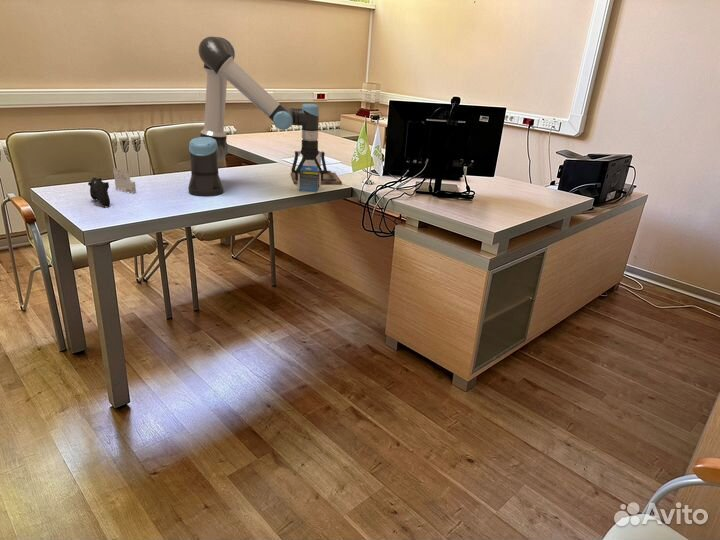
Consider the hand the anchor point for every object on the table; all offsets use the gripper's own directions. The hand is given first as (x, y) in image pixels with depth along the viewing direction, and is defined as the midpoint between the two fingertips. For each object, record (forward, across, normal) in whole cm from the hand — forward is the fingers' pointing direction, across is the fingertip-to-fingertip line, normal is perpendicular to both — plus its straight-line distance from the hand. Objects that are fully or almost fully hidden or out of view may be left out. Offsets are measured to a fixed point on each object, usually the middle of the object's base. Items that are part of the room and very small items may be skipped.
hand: (309, 187), depth 241 cm
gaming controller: (+2, -87, -21) cm, 90 cm away
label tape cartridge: (+2, 0, 0) cm, 2 cm away
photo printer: (+2, +6, +40) cm, 40 cm away
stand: (+2, +6, +22) cm, 23 cm away
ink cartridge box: (+2, -81, -2) cm, 81 cm away
